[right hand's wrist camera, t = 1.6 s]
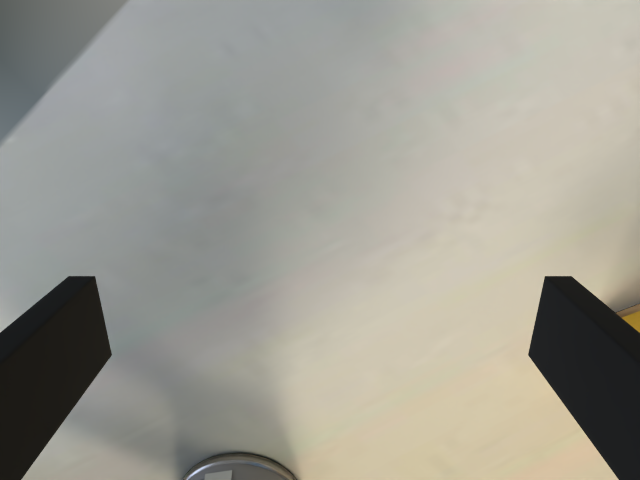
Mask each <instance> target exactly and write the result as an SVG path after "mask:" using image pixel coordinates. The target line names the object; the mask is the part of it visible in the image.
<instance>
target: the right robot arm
mask: <svg viewBox="0 0 640 480" xmlns="http://www.w3.org/2000/svg"><path fill="white" fill-rule="evenodd" d="M111 355H112V354H111V349H110V344H109V340H108V335H107V330H106V326H105V321H104V316H103V312H102V307H101V302H100V298H99V293H98V288H97V284H96V279H95V276H69V277H67V278H66V279H65V280H64V281H62V282H61V283H60V284H59V285H58V286H56V287H55V288H54V289H53V290H52V291H50V292H49V293H48V294H47V295H46V296H44V297H43V298H42V299H41V300H39V301H38V302H37V303H36V304H35V305H33V306H32V307H31V308H30V309H29V310H27V311H26V312H25V313H24V314H22V315H21V316H20V317H19V318H18V319H16V320H15V321H14V322H13V323H12V324H10V325H9V326H8V327H7V328H6V329H4V330H3V331H2V332H1V333H0V480H21V479H22V478H23V476H24V475H25V473H26V472H27V471H28V469H29V468H30V467H31V465H32V464H33V462H34V461H35V460H36V458H37V457H38V456H39V454H40V453H41V452H42V450H43V449H44V447H45V446H46V445H47V443H48V442H49V441H50V439H51V438H52V436H53V435H54V434H55V432H56V431H57V430H58V428H59V427H60V425H61V424H62V423H63V421H64V420H65V419H66V417H67V416H68V414H69V413H70V412H71V410H72V409H73V408H74V406H75V405H76V403H77V402H78V401H79V399H80V398H81V397H82V395H83V394H84V392H85V391H86V390H87V388H88V387H89V386H90V384H91V383H92V381H93V380H94V379H95V377H96V376H97V375H98V373H99V372H100V370H101V369H102V368H103V366H104V365H105V364H106V362H107V361H108V359H109V358H110V357H111ZM528 355H529V357H530V358H531V359H532V361H533V362H534V364H535V365H536V366H537V368H538V369H539V370H540V372H541V373H542V375H543V376H544V377H545V379H546V380H547V381H548V383H549V384H550V386H551V387H552V388H553V390H554V391H555V392H556V394H557V395H558V397H559V398H560V399H561V401H562V402H563V403H564V405H565V406H566V408H567V409H568V410H569V412H570V413H571V414H572V416H573V417H574V419H575V420H576V421H577V423H578V424H579V425H580V427H581V428H582V430H583V431H584V432H585V434H586V435H587V436H588V438H589V439H590V441H591V442H592V443H593V445H594V446H595V447H596V449H597V450H598V452H599V453H600V454H601V456H602V457H603V458H604V460H605V461H606V462H607V464H608V465H609V467H610V468H611V469H612V471H613V472H614V473H615V475H616V476H617V478H618V479H619V480H640V333H639V332H638V331H637V330H636V329H634V328H633V327H632V326H631V325H630V324H628V323H627V322H626V321H625V320H624V319H622V318H621V317H620V316H619V315H618V314H616V313H615V312H614V311H613V310H611V309H610V308H609V307H608V306H607V305H605V304H604V303H603V302H602V301H601V300H599V299H598V298H597V297H596V296H594V295H593V294H592V293H591V292H590V291H588V290H587V289H586V288H585V287H584V286H582V285H581V284H580V283H579V282H578V281H576V280H575V279H574V278H573V277H571V276H545V279H544V284H543V288H542V293H541V298H540V302H539V307H538V312H537V316H536V321H535V326H534V330H533V335H532V340H531V344H530V349H529V354H528ZM183 480H296V479H295V478H294V476H293V475H292V474H291V473H290V472H289V471H288V470H286V469H285V468H284V467H282V466H281V465H279V464H277V463H276V462H274V461H271V460H269V459H266V458H264V457H260V456H256V455H251V454H242V453H232V454H223V455H218V456H214V457H211V458H208V459H206V460H204V461H202V462H200V463H198V464H197V465H195V466H194V467H193V468H192V469H191V470H190V471H189V472H188V473H187V474H186V475H185V477H184V479H183Z"/></svg>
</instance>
